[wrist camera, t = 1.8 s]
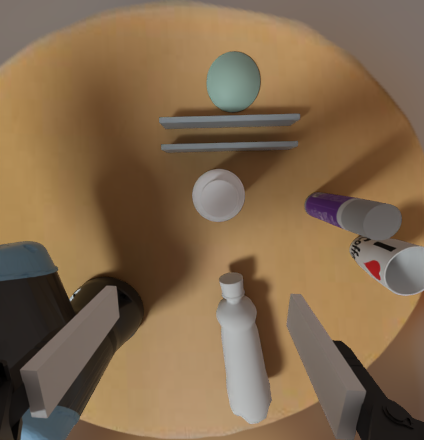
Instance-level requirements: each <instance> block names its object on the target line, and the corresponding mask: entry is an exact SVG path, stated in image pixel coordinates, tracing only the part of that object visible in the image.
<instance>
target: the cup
mask: <svg viewBox="0 0 424 440" xmlns="http://www.w3.org/2000/svg"><path fill="white" fill-rule="evenodd" d="M350 254H351V256H352V257H353V258H354V260H355V261H356V262H357V264H358V265H359V266H360V267H361V268H363V269H364V270H365V271H366V272H367V273H368V274H369V275H370V276H371V277H373V278H374V279H375V280H377V281H378V282H379V283H381V284H382V285H384V286H385V287H386V288H388V289H389V290H390V291H392V292H393V293H395V294H398V295H404V296H408V295H414V294H417V293H419V292H422V291H423V290H424V247H422V246H419V245H415V244H411V243H408V242H404V241H401V240H397V239H391V238H388V239H385V240H381V241H377V240H372V239H370V238H367V237H364V236H361V237H358V238H356V239H355V240H354V241H353V242H352V243H351V245H350Z"/></svg>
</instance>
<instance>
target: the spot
mask: <svg viewBox="0 0 424 440" xmlns="http://www.w3.org/2000/svg"><path fill="white" fill-rule="evenodd" d="M259 88H260V74H259V70H258V68H257V66H256V64H255V62H254V61H253V60H252V59H251V58H250V57H249V56H247V55H246V54H244V53H241V52H228V53H225V54H223V55H221V56H219V57H218V58H217V59H216V60H215V61H214V62H213V64H212V65H211V67H210V69H209V72H208V75H207V90H208V94H209V96H210V99H211V100H212V102H213V103H214V104H215V105H216V106H217V107H218V108H220V109H221V110H223V111H226V112H239V111H242V110H244V109H246V108H247V107H248V106H250V105H251V104H252V102H253V101H254V100H255V98H256V96H257V94H258V91H259Z"/></svg>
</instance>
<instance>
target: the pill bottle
mask: <svg viewBox="0 0 424 440" xmlns="http://www.w3.org/2000/svg"><path fill="white" fill-rule="evenodd" d="M192 199H193V203H194V206H195V208H196V210H197V211H198V213H199V214H200V215H201V216H203V217H204V218H206V219H208V220H210V221H215V222H222V221H227V220H229V219H231V218H233V217H234V216H236V215H237V214H238V213H239V211H240V210H241V208H242V206H243V204H244V200H245V190H244V187H243V184H242V182H241V181H240V179H239V178H238V177H237V176H236V175H235V174H234V173H232V172H230V171H228V170H224V169H214V170H210V171H208V172H206V173H204V174H203V175H201V176H200V177H199V179H198V180H197V181H196V183H195V185H194V188H193V193H192Z"/></svg>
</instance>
